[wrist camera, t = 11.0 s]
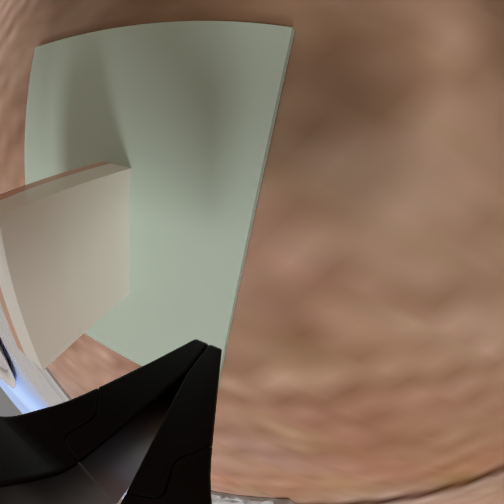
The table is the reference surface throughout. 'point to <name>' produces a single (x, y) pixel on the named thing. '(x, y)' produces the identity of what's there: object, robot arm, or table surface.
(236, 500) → the carpet tile
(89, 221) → the tile
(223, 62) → the mat
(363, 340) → the table surface
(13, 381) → the plated food
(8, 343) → the baseboard
